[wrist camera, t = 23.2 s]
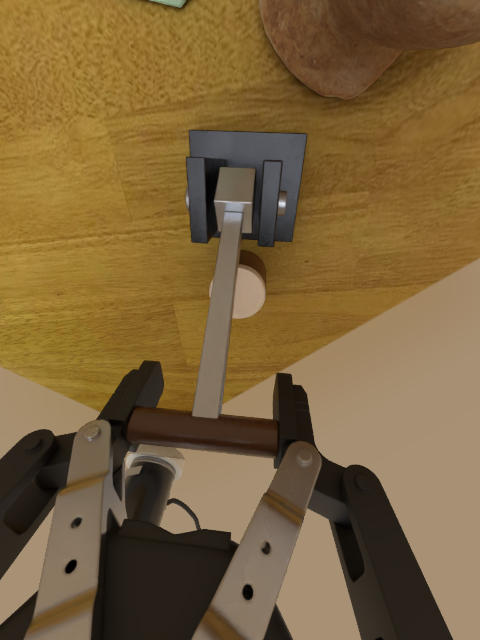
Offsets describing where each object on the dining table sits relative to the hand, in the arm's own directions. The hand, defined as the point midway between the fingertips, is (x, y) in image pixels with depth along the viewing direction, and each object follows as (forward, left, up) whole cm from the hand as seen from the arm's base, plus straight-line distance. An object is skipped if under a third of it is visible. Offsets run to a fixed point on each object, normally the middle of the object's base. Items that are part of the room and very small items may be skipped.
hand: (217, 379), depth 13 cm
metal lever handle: (+3, 0, -3) cm, 4 cm away
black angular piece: (+8, 0, -15) cm, 17 cm away
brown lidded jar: (0, 0, -15) cm, 16 cm away
